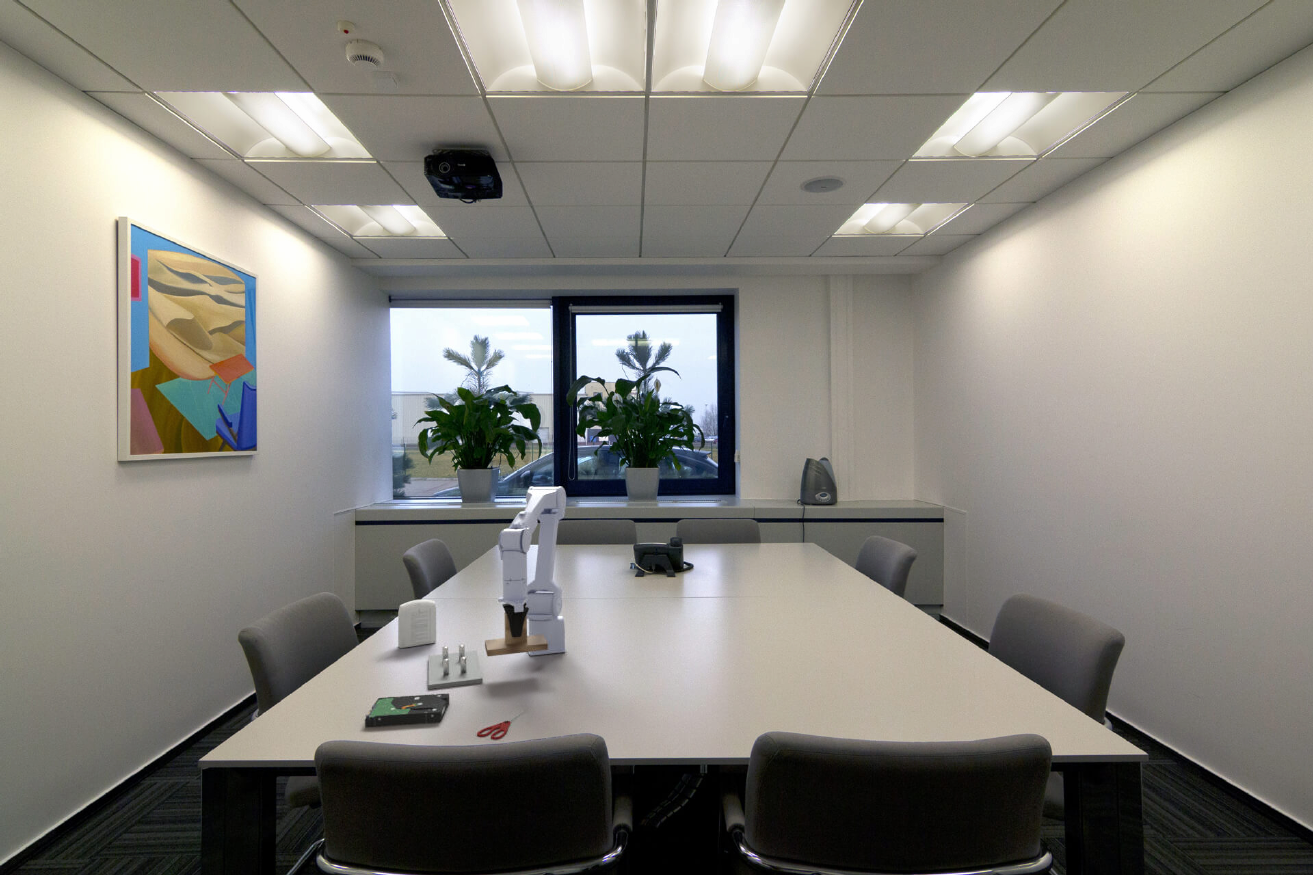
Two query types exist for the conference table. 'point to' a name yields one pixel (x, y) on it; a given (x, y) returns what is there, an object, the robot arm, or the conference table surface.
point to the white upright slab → (416, 623)
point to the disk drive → (407, 710)
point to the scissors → (501, 726)
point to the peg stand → (454, 668)
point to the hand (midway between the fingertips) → (515, 634)
